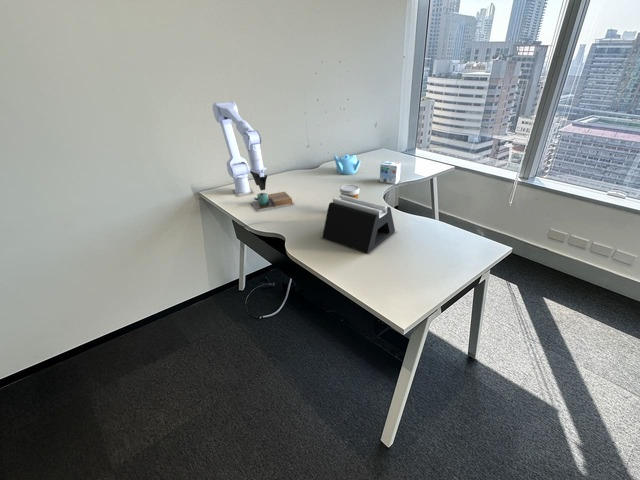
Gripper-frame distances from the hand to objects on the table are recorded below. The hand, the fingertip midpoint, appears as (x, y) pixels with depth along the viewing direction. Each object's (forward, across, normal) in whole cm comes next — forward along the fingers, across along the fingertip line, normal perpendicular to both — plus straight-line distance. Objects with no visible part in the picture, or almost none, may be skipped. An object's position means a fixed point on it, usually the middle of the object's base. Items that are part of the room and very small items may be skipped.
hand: (260, 187), depth 160 cm
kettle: (+8, 0, 0) cm, 8 cm away
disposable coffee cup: (+10, -28, -35) cm, 46 cm away
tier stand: (+9, 0, -4) cm, 10 cm away
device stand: (+10, -52, -27) cm, 59 cm away
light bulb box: (+10, 0, -76) cm, 77 cm away
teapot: (+9, +28, -62) cm, 69 cm away
